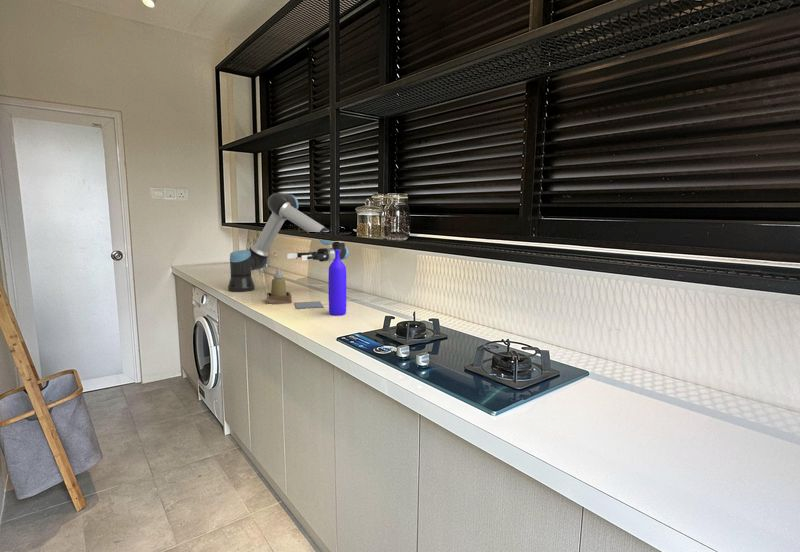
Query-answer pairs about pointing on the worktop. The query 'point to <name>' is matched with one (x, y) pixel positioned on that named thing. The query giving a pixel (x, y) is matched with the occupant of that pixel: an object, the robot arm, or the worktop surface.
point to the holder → (279, 299)
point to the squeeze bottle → (278, 285)
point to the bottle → (337, 286)
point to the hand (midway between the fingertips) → (294, 257)
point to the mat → (308, 305)
